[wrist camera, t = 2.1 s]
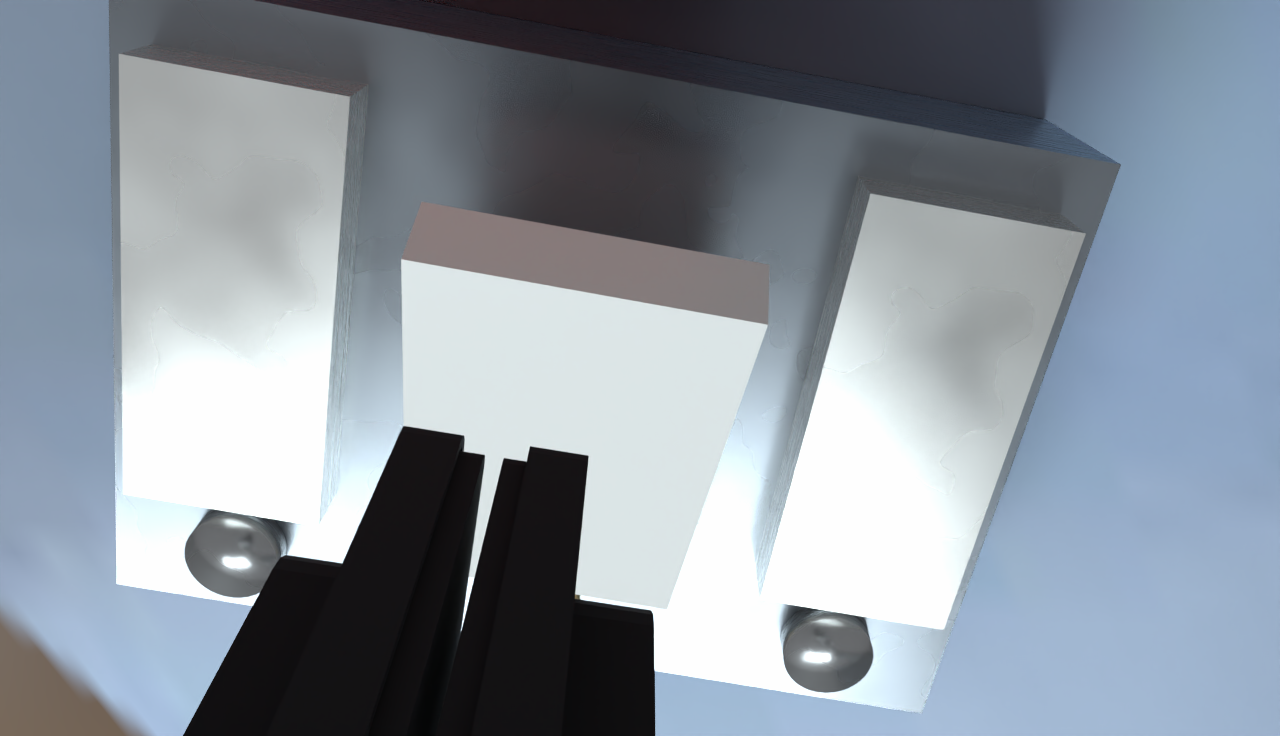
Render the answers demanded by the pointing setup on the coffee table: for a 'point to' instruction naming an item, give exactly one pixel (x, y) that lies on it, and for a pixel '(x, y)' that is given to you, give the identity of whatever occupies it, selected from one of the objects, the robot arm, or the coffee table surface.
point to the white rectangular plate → (583, 373)
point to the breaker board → (599, 203)
